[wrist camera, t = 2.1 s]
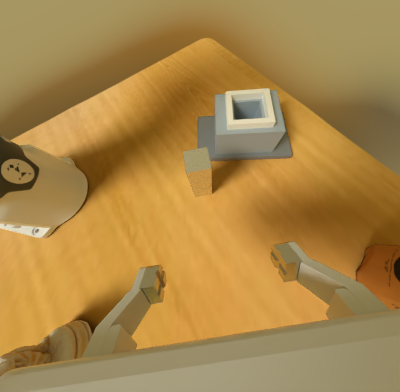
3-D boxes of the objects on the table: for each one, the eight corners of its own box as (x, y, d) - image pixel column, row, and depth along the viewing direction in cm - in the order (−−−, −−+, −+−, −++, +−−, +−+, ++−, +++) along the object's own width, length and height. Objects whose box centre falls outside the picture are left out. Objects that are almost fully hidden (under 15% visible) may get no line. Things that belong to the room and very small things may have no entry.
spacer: (227, 129, 26) (227, 124, 25) (225, 97, 28) (225, 91, 27) (272, 127, 25) (275, 121, 24) (266, 94, 28) (269, 88, 26)
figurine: (68, 322, 26) (-123, 399, 13) (97, 310, 25) (-88, 384, 12) (66, 377, 23) (-190, 549, 10) (98, 367, 22) (-154, 555, 8)
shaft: (195, 197, 30) (186, 173, 19) (192, 182, 31) (182, 151, 20) (211, 194, 30) (211, 168, 19) (208, 179, 31) (206, 146, 20)
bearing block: (197, 161, 32) (194, 140, 26) (198, 120, 36) (195, 92, 29) (290, 158, 31) (311, 134, 24) (280, 115, 34) (297, 84, 28)
